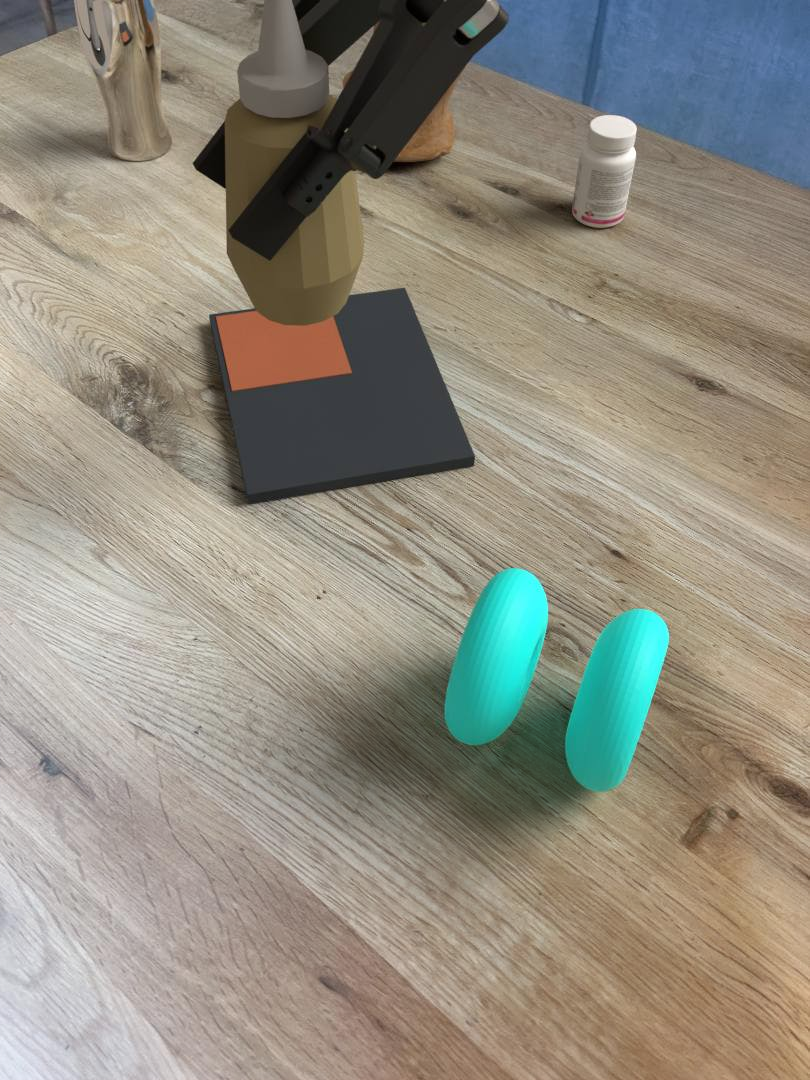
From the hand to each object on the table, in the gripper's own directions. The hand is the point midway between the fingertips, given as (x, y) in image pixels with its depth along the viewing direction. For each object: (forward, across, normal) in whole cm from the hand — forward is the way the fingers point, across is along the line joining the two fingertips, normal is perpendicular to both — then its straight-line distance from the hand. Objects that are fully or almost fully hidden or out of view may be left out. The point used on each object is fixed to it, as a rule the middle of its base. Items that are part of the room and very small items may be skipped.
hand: (230, 210), depth 58 cm
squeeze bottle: (+2, 0, -8) cm, 8 cm away
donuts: (+8, -26, -21) cm, 34 cm away
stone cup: (-5, +39, -34) cm, 52 cm away
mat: (+9, +6, -20) cm, 22 cm away
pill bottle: (-12, +19, -41) cm, 47 cm away
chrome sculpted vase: (+13, +46, -16) cm, 50 cm away
